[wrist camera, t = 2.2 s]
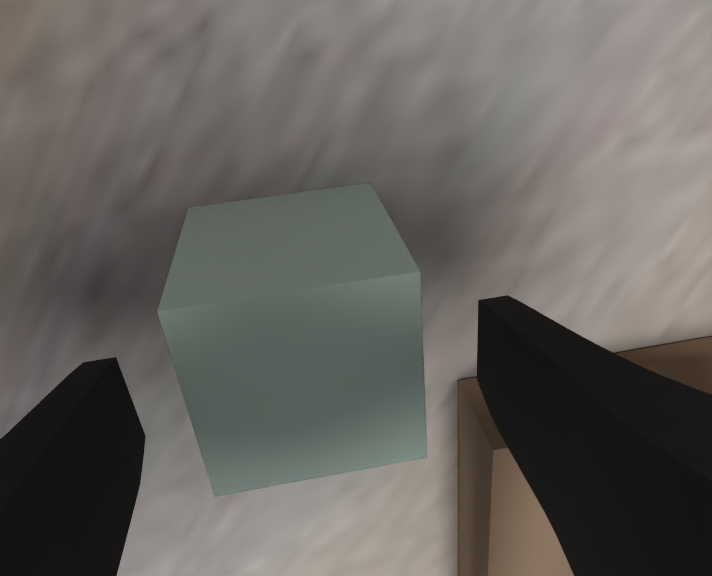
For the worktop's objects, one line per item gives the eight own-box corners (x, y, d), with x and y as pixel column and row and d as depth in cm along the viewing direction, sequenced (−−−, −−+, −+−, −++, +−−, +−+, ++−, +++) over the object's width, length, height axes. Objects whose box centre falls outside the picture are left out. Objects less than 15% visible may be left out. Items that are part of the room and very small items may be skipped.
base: (458, 591, 23) (484, 669, 20) (458, 380, 18) (493, 450, 15) (708, 539, 24) (763, 607, 21) (781, 324, 18) (867, 381, 16)
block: (226, 355, 16) (214, 496, 12) (188, 206, 14) (157, 312, 9) (381, 330, 16) (427, 457, 12) (370, 181, 14) (420, 271, 10)
